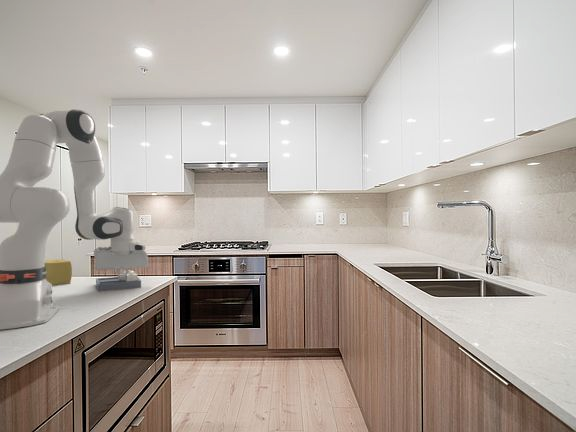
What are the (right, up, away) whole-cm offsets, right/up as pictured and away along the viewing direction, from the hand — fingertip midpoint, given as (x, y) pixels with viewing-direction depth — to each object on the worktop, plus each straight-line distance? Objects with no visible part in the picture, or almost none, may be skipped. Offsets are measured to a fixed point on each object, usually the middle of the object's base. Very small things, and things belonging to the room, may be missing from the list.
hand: (122, 279), depth 146 cm
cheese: (-33, -3, +7) cm, 34 cm away
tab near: (+3, -2, +2) cm, 4 cm away
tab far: (-1, -2, +9) cm, 9 cm away
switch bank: (-3, -3, +3) cm, 6 cm away
